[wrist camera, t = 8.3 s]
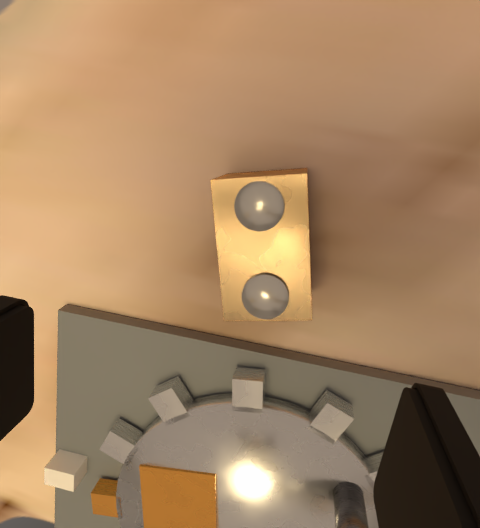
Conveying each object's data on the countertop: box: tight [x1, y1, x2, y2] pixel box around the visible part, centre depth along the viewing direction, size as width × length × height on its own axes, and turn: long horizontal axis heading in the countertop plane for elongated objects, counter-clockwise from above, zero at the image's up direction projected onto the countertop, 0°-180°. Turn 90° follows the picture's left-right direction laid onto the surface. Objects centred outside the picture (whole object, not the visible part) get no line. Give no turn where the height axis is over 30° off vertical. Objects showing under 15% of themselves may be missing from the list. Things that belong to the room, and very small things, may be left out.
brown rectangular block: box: [211, 168, 312, 321], centre depth 25 cm, size 5×8×5 cm, turn 5°
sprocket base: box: [44, 304, 480, 528], centre depth 32 cm, size 32×26×3 cm
